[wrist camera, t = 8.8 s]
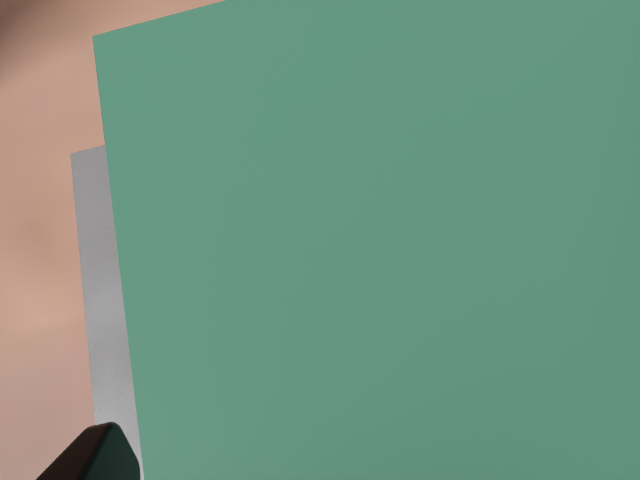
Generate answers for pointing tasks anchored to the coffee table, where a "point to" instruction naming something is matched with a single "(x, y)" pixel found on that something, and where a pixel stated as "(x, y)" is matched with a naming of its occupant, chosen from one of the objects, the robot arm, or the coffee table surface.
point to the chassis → (104, 296)
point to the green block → (380, 237)
